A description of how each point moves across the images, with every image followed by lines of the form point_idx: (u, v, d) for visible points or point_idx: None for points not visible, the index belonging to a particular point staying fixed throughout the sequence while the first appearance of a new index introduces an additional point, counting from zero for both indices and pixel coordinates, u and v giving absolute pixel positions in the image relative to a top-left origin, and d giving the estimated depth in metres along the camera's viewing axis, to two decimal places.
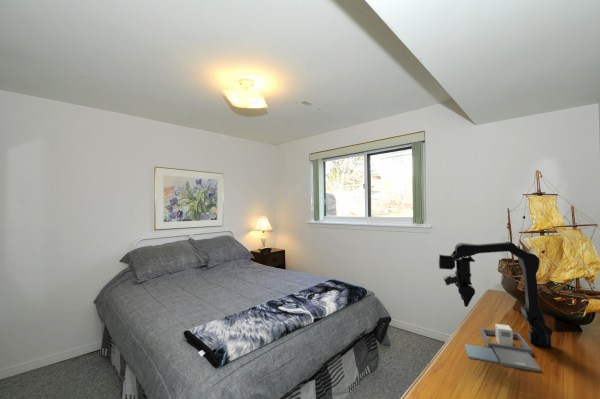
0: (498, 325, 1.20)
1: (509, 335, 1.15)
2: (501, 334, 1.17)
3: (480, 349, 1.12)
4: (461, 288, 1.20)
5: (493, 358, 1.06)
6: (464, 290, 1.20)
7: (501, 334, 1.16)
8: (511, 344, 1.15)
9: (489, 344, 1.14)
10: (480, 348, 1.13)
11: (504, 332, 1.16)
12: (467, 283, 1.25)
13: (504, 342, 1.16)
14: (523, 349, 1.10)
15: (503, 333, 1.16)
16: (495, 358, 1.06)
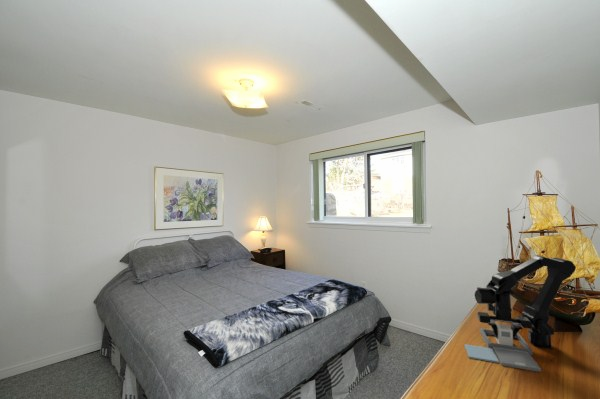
0: (498, 325, 1.20)
1: (509, 335, 1.15)
2: (501, 334, 1.17)
3: (480, 349, 1.12)
4: (477, 313, 1.24)
5: (493, 358, 1.06)
6: (477, 315, 1.23)
7: (501, 334, 1.16)
8: (511, 344, 1.15)
9: (489, 344, 1.14)
10: (480, 348, 1.13)
11: (504, 332, 1.16)
12: (496, 316, 1.18)
13: (504, 342, 1.16)
14: (523, 349, 1.10)
15: (503, 333, 1.16)
16: (495, 358, 1.06)
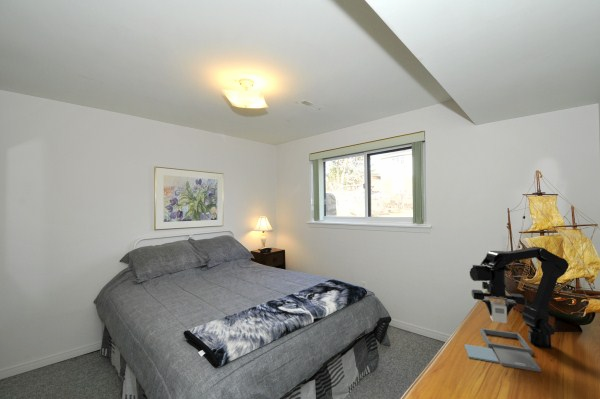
0: (492, 302, 1.19)
1: (503, 311, 1.14)
2: (495, 311, 1.15)
3: (480, 349, 1.12)
4: (472, 290, 1.23)
5: (493, 358, 1.06)
6: (472, 293, 1.22)
7: (495, 311, 1.15)
8: (505, 321, 1.14)
9: (489, 344, 1.14)
10: (480, 348, 1.13)
11: (498, 309, 1.15)
12: (491, 293, 1.17)
13: (498, 319, 1.15)
14: (523, 349, 1.10)
15: (497, 310, 1.15)
16: (495, 358, 1.06)
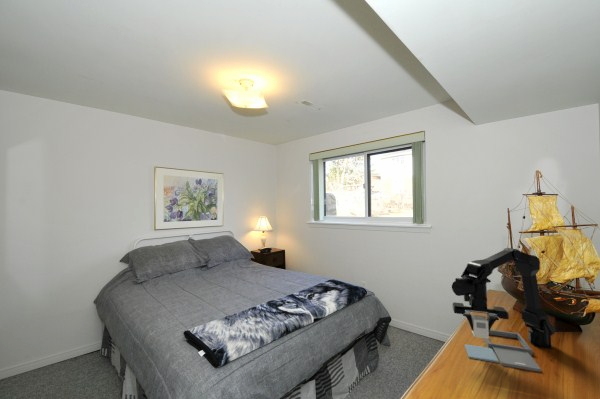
0: (474, 316, 1.12)
1: (485, 326, 1.08)
2: (476, 325, 1.09)
3: (480, 349, 1.12)
4: None
5: (493, 358, 1.06)
6: None
7: (476, 326, 1.09)
8: (487, 336, 1.07)
9: (489, 344, 1.14)
10: (480, 348, 1.13)
11: (479, 323, 1.08)
12: (472, 306, 1.11)
13: (479, 334, 1.08)
14: (523, 349, 1.10)
15: (478, 324, 1.08)
16: (495, 358, 1.06)
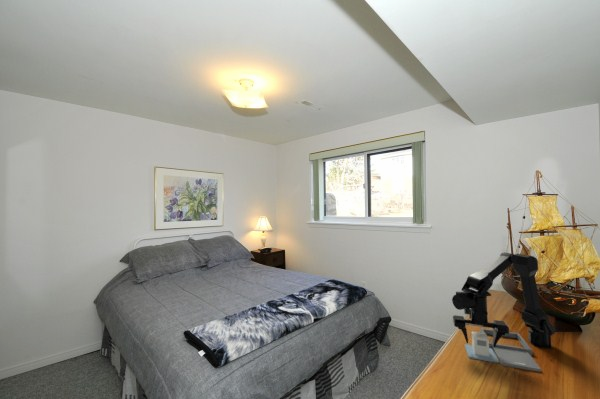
0: (474, 333, 1.12)
1: (485, 344, 1.07)
2: (477, 343, 1.09)
3: None
4: (453, 316, 1.16)
5: (493, 358, 1.06)
6: (453, 319, 1.15)
7: (477, 343, 1.08)
8: (487, 354, 1.07)
9: (489, 344, 1.14)
10: None
11: (480, 341, 1.08)
12: (472, 320, 1.10)
13: (480, 351, 1.08)
14: (523, 349, 1.10)
15: (479, 342, 1.08)
16: (495, 358, 1.06)
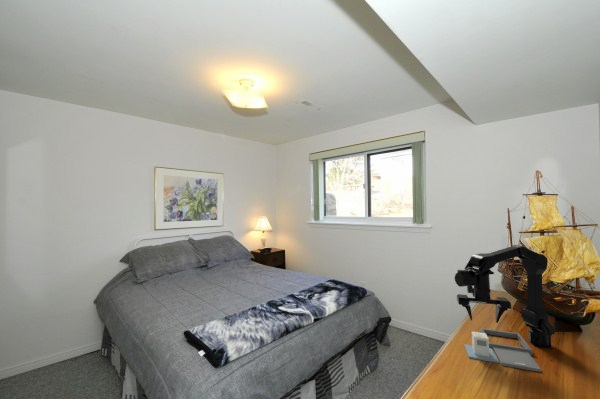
0: (474, 333, 1.12)
1: (485, 344, 1.07)
2: (477, 343, 1.09)
3: None
4: (457, 295, 1.20)
5: (493, 358, 1.06)
6: (457, 298, 1.19)
7: (477, 343, 1.08)
8: (487, 354, 1.07)
9: (489, 344, 1.14)
10: None
11: (480, 341, 1.08)
12: (476, 297, 1.14)
13: (480, 351, 1.08)
14: (523, 349, 1.10)
15: (479, 342, 1.08)
16: (495, 358, 1.06)
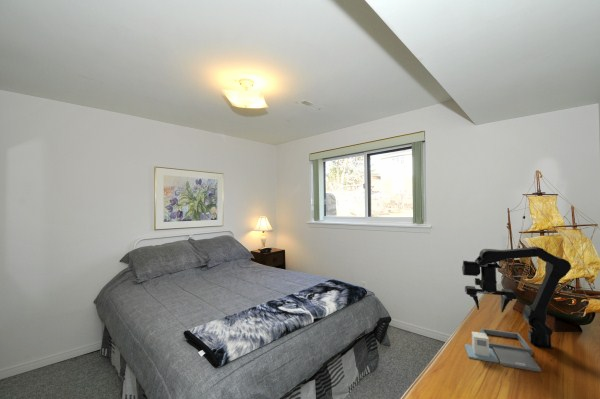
0: (474, 333, 1.12)
1: (485, 344, 1.07)
2: (477, 343, 1.09)
3: None
4: (465, 287, 1.29)
5: (493, 358, 1.06)
6: (465, 289, 1.28)
7: (477, 343, 1.08)
8: (487, 354, 1.07)
9: (489, 344, 1.14)
10: None
11: (480, 341, 1.08)
12: (483, 288, 1.24)
13: (480, 351, 1.08)
14: (523, 349, 1.10)
15: (479, 342, 1.08)
16: (495, 358, 1.06)
